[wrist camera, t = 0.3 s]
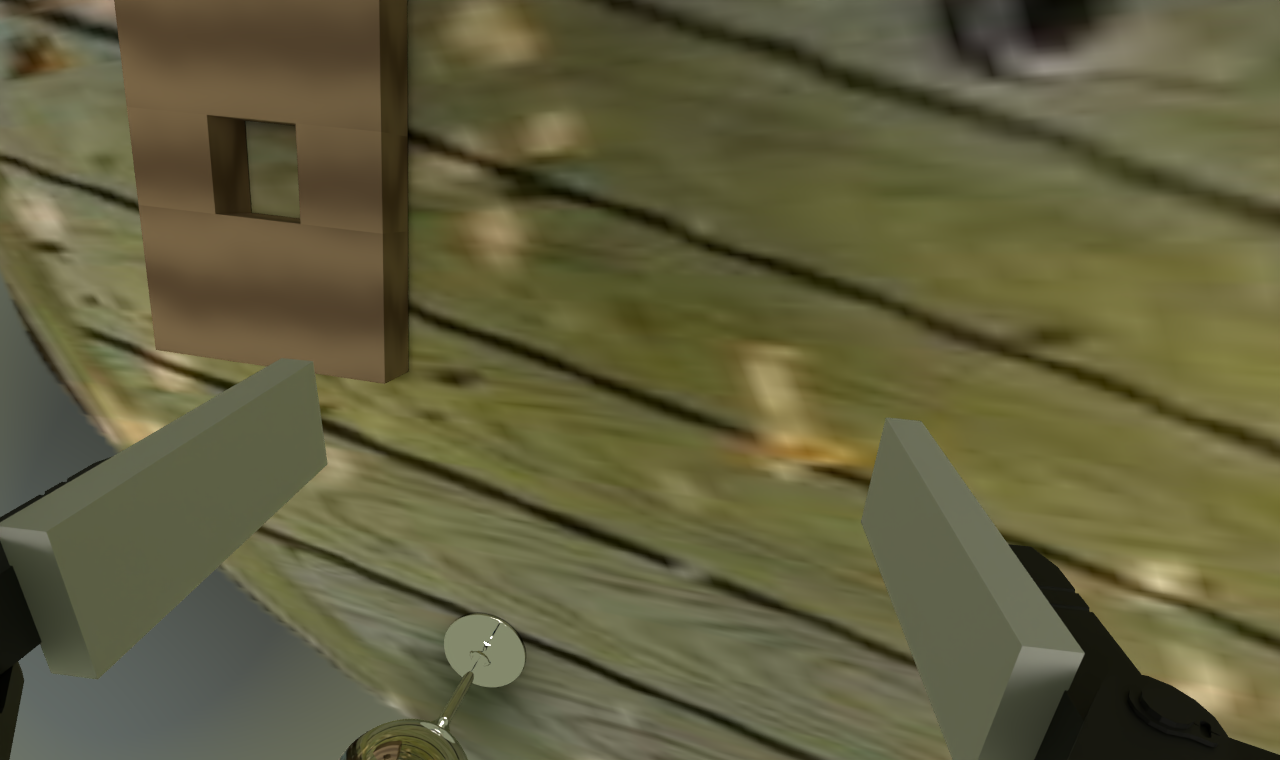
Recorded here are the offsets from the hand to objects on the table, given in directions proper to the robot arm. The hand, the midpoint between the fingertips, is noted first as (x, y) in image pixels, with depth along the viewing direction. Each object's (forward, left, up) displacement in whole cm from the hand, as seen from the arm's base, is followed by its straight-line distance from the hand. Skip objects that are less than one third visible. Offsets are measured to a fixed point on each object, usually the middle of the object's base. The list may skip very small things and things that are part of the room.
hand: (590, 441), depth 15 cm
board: (-4, -26, -25) cm, 36 cm away
